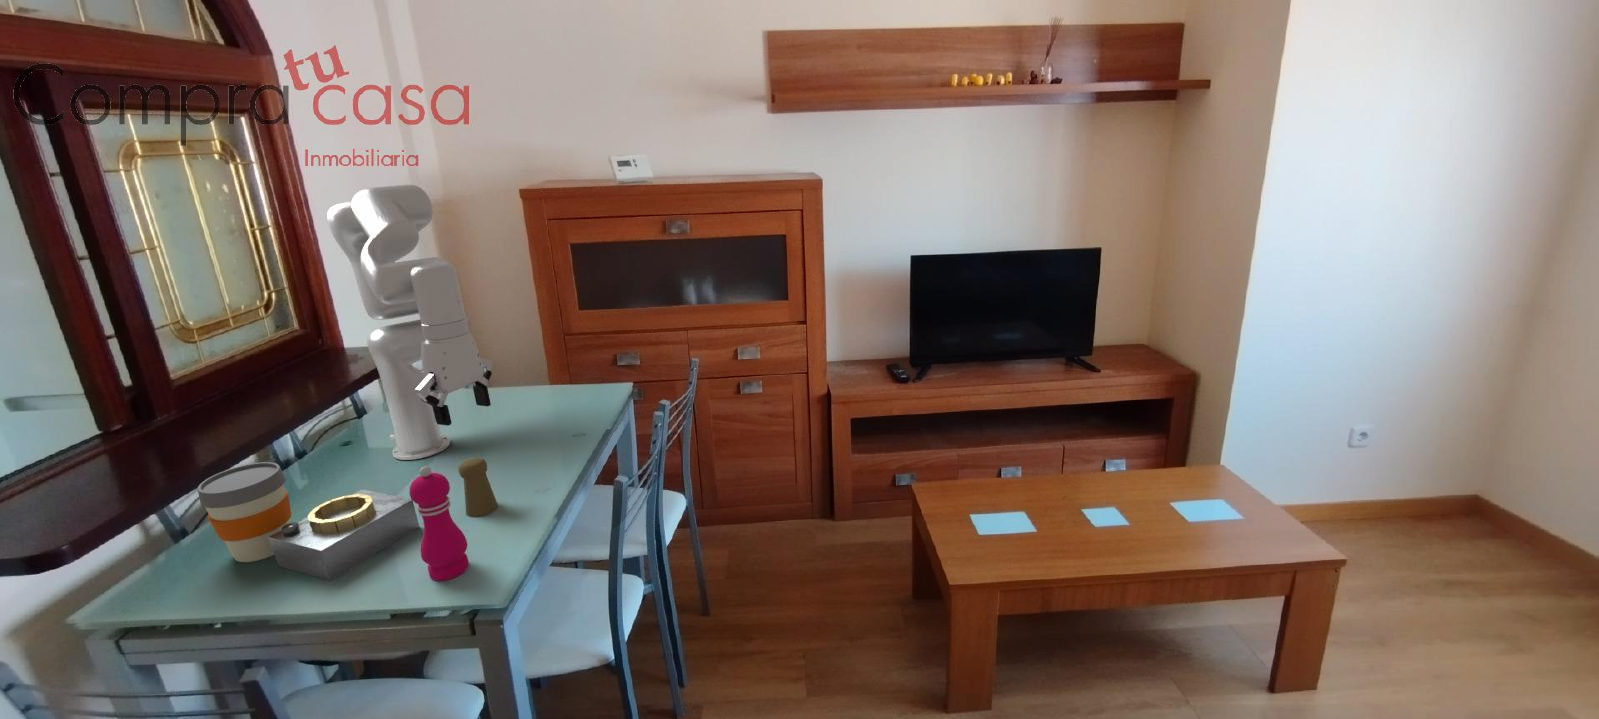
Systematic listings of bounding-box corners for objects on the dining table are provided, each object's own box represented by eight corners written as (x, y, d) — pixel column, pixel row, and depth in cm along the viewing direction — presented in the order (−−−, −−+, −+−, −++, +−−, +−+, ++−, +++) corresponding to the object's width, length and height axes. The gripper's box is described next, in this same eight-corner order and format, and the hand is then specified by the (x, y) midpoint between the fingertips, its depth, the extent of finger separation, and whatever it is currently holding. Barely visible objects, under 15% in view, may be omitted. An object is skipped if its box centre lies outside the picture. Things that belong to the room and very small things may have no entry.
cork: (504, 503, 143) (494, 455, 139) (483, 518, 137) (471, 468, 134) (481, 500, 145) (470, 452, 141) (459, 515, 139) (447, 465, 136)
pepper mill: (436, 560, 124) (411, 459, 118) (478, 556, 125) (455, 455, 119) (419, 584, 117) (391, 479, 111) (463, 580, 118) (437, 475, 112)
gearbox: (278, 565, 125) (265, 527, 123) (369, 515, 141) (359, 480, 138) (330, 580, 120) (317, 540, 117) (419, 526, 136) (410, 490, 133)
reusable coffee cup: (204, 569, 125) (176, 496, 121) (255, 531, 137) (232, 463, 133) (273, 566, 125) (248, 492, 120) (318, 528, 137) (297, 459, 132)
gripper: (467, 317, 139) (484, 397, 144) (390, 341, 123) (412, 430, 129) (496, 318, 136) (512, 400, 141) (421, 344, 121) (442, 434, 126)
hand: (464, 414), depth 135 cm, fingers open, 9 cm apart
